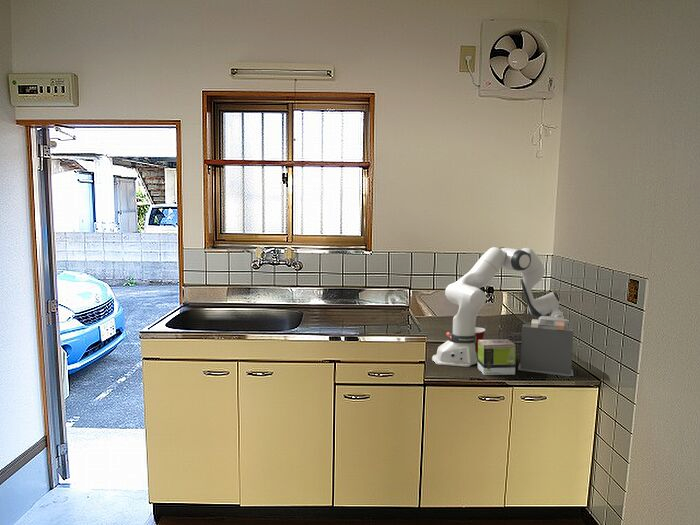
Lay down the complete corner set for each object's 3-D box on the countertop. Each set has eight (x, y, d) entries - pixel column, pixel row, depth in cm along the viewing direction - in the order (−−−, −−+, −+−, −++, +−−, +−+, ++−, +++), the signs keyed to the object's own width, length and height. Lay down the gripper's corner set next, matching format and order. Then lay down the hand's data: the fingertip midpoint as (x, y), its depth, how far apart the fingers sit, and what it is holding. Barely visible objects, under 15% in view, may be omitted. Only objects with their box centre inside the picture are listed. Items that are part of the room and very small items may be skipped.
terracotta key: (554, 340, 220) (555, 325, 219) (554, 335, 229) (555, 320, 229) (564, 341, 218) (565, 325, 218) (564, 336, 228) (564, 321, 227)
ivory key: (529, 338, 224) (530, 322, 223) (530, 332, 234) (531, 318, 233) (538, 339, 223) (539, 323, 222) (539, 333, 232) (540, 319, 231)
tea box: (507, 368, 230) (508, 338, 228) (515, 375, 220) (516, 344, 218) (476, 368, 230) (477, 338, 228) (483, 375, 220) (484, 344, 218)
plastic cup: (462, 347, 265) (463, 326, 263) (482, 348, 264) (483, 326, 262) (465, 353, 254) (466, 331, 253) (486, 353, 253) (487, 331, 252)
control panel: (518, 369, 227) (519, 326, 225) (519, 365, 235) (520, 323, 232) (573, 376, 218) (575, 332, 216) (572, 371, 225) (575, 328, 223)
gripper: (538, 312, 256) (537, 317, 244) (581, 315, 248) (582, 321, 236) (538, 323, 257) (537, 329, 244) (580, 327, 249) (581, 333, 236)
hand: (559, 325), depth 240 cm, fingers closed
